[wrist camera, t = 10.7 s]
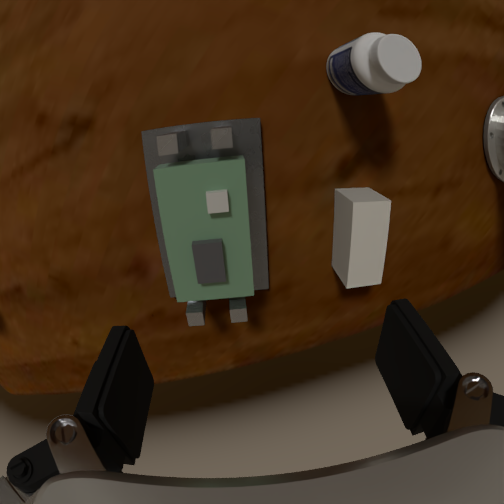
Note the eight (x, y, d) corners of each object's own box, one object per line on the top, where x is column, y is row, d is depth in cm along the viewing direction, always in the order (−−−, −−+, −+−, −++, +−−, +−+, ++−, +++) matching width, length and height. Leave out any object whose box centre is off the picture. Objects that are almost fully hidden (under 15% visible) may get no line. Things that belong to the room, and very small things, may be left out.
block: (368, 187, 31) (391, 200, 26) (363, 262, 34) (380, 283, 30) (334, 188, 30) (353, 202, 26) (331, 265, 34) (346, 288, 30)
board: (242, 155, 24) (245, 160, 21) (251, 281, 30) (255, 300, 27) (159, 164, 24) (150, 171, 21) (180, 287, 29) (176, 307, 26)
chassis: (258, 117, 27) (269, 118, 20) (267, 284, 35) (277, 322, 28) (144, 131, 26) (120, 136, 20) (171, 292, 34) (162, 331, 28)
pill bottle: (357, 106, 27) (410, 107, 18) (315, 74, 25) (355, 59, 16) (382, 68, 25) (438, 59, 16) (341, 37, 23) (388, 12, 15)
